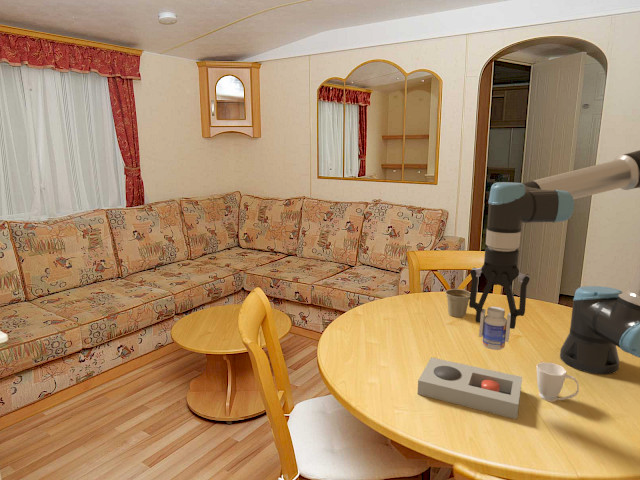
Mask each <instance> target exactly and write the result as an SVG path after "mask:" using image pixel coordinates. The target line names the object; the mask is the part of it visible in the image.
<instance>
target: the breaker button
mask: <svg viewBox="0 0 640 480" xmlns="http://www.w3.org/2000/svg"><path fill="white" fill-rule="evenodd" d="M481 388H483V389H487V390H492V391H496V392H499V389H500V385H499V383H497V382H495V381H493V380H483V381H482V384H481Z"/></svg>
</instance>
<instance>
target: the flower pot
mask: <svg viewBox="0 0 640 480" xmlns="http://www.w3.org/2000/svg"><path fill="white" fill-rule="evenodd" d="M444 293H445V295H446V299H447V308H448V309H447V311H448V315H449V316H451V317H453V318H464V317H466V315H467V310H468V306H469V302H470V293H471V291H469V290H466V289H462V288H461V289H459V288H452V289H450V288H449V289H447V290H445V291H444Z"/></svg>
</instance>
